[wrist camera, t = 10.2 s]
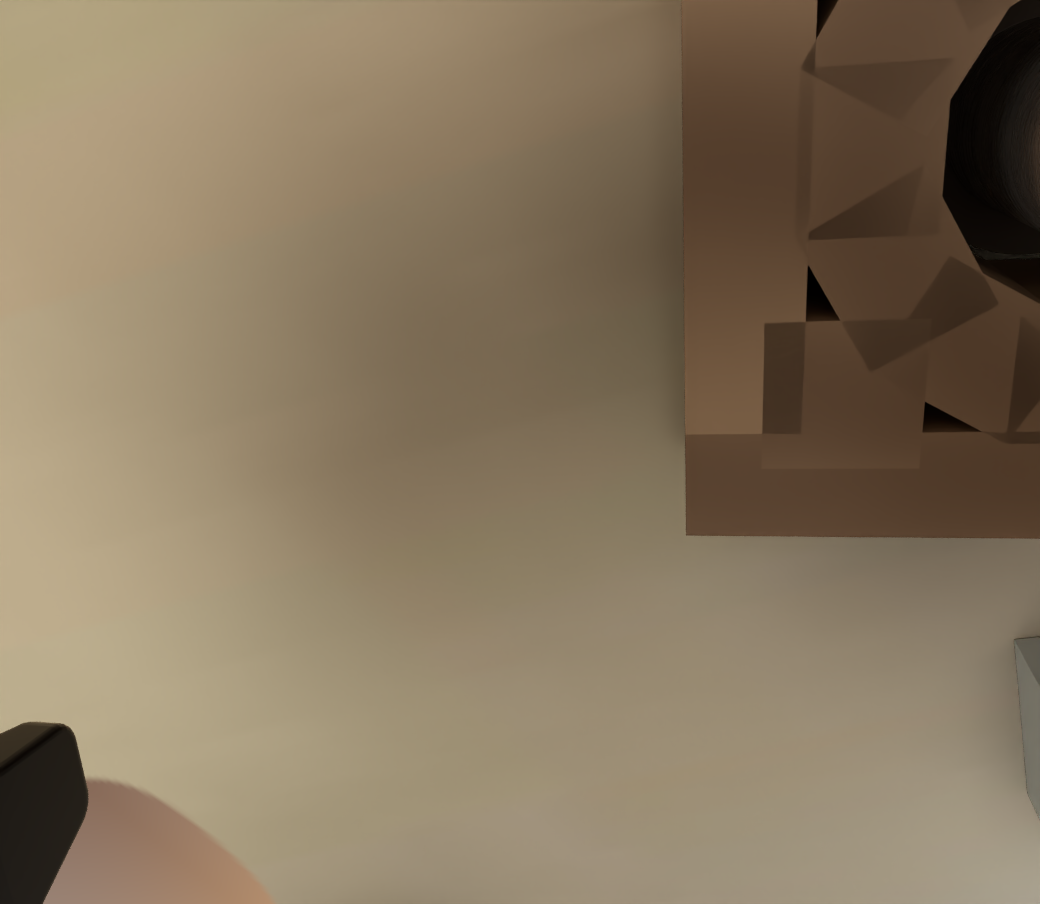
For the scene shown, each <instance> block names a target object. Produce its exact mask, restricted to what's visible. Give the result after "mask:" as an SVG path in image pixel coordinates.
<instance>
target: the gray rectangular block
mask: <svg viewBox="0 0 1040 904" xmlns="http://www.w3.org/2000/svg"><path fill="white" fill-rule="evenodd" d="M1014 644H1015V656H1016V667H1017V679H1018V690H1019V702H1020V713H1021V725H1022V736H1023V748H1024V760H1025V771H1026V783H1027V793H1028V796H1029V798H1030V800H1031V802H1032V805H1033V807H1034V809H1035V811H1036V813H1037V816H1038V818H1039V820H1040V637H1034V638H1025V639H1016V640H1014Z"/></svg>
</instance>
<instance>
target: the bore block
mask: <svg viewBox="0 0 1040 904" xmlns="http://www.w3.org/2000/svg"><path fill="white" fill-rule="evenodd" d="M681 9H682V123H683V237H684V351H685V464H686V535H697V536H809V537H922V538H1035V539H1040V258H1034V259H1006V260H984V259H983V258H981V257H979V256H977V255H975V254H973V253H972V252H971V250H970V248H969V246H968V244H970V245H972V246H975V247H978V248H982V249H985V250H988V251H992V252H999V253H1006V254H1035V253H1040V231H1038V230H1036V229H1034V228H1032V227H1030V226H1028V225H1026V224H1024V223H1022V222H1020V221H1018V220H1016V219H1014V218H1012V217H1010V216H1008V215H1006V214H1004V213H1002V212H1000V211H998V210H996V209H994V208H992V207H990V206H988V205H986V204H984V203H982V202H980V201H979V200H977V199H976V198H974V197H973V196H971V195H970V194H969V193H968V192H967V191H966V190H965V189H964V188H963V187H962V186H961V185H960V184H959V182H958V181H957V180H956V179H955V177H954V175H953V174H952V172H951V170H950V168H949V166H948V164H947V161H946V159H945V157H946V145H947V133H948V122H949V110H950V100H951V98H952V97H953V95H954V94H955V92H956V90H957V89H958V87H959V86H960V84H961V83H962V81H963V79H964V78H965V76H966V75H967V73H968V72H969V70H970V69H971V67H972V65H973V64H974V62H975V61H976V59H977V58H978V56H979V54H980V53H981V51H982V50H983V48H984V47H985V45H986V44H987V42H988V40H990V39H991V38H993V37H994V36H996V35H997V34H998V33H1000V32H1002V31H1004V30H1005V29H1007V28H1009V27H1011V26H1013V25H1016V24H1018V23H1021V22H1023V21H1026V20H1029V19H1033V18H1037V17H1040V0H681ZM967 243H968V244H967ZM808 265H809V267H808Z"/></svg>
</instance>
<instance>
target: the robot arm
mask: <svg viewBox="0 0 1040 904" xmlns="http://www.w3.org/2000/svg"><path fill="white" fill-rule="evenodd" d="M87 806H88V789H87V785H86V780H85V776H84V771H83V767H82V763H81V759H80V754H79V750H78V746H77V742H76V738H75V735H74V733H73V731H72V730H71V729H70V728H69V727H68V726H66V725H64V724H61V723H46V722H27V723H23V724H20V725H18V726H16V727H14V728H12V729H10V730H7V731H5V732H3V733H1V734H0V904H43V902H44V900H45V898H46V896H47V894H48V892H49V890H50V888H51V886H52V884H53V882H54V879H55V877H56V875H57V873H58V871H59V869H60V867H61V865H62V863H63V861H64V859H65V857H66V855H67V853H68V851H69V849H70V847H71V845H72V843H73V841H74V839H75V837H76V835H77V833H78V831H79V829H80V827H81V825H82V823H83V820H84V818H85V815H86V811H87Z"/></svg>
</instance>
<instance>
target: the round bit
mask: <svg viewBox="0 0 1040 904" xmlns="http://www.w3.org/2000/svg"><path fill="white" fill-rule="evenodd" d="M945 159H946V161H947V164H948V166H949V168H950V170H951V172H952V174H953V175H954V177H955V179H956V180H957V181H958V182H959V184H960V185H961V186H962V187H963V188H964V189H965V190H966V191H967V192H968V193H969V194H970V195H971V196H973V197H974V198H976V199H977V200H979V201H980V202H982V203H984V204H986V205H988V206H990V207H992V208H994V209H996V210H998V211H1000V212H1002V213H1004V214H1006V215H1008V216H1010V217H1012V218H1014V219H1016V220H1018V221H1020V222H1022V223H1024V224H1026V225H1028V226H1030V227H1032V228H1034V229H1036V230H1038V231H1040V17H1037V18H1033V19H1029V20H1026V21H1023V22H1021V23H1018V24H1016V25H1013V26H1011V27H1009V28H1007V29H1005V30H1004V31H1002V32H1000V33H998V34H997V35H996V36H994V37H993V38H991V39H990V40H988V42H987V44H986V45H985V47H984V48H983V50H982V51H981V53H980V54H979V56H978V58H977V59H976V61H975V62H974V64H973V65H972V67H971V69H970V70H969V72H968V73H967V75H966V76H965V78H964V79H963V81H962V83H961V84H960V86H959V87H958V89H957V90H956V92H955V94H954V95H953V97H952V98H951V100H950V110H949V122H948V133H947V145H946V157H945Z"/></svg>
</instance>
